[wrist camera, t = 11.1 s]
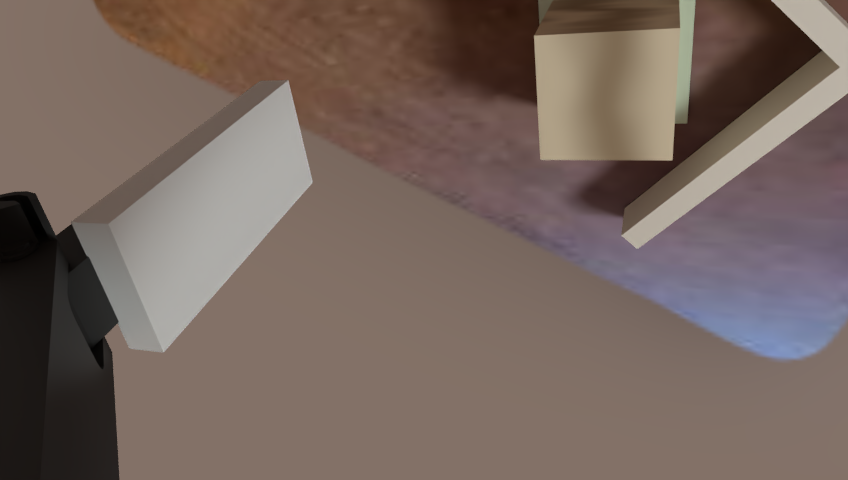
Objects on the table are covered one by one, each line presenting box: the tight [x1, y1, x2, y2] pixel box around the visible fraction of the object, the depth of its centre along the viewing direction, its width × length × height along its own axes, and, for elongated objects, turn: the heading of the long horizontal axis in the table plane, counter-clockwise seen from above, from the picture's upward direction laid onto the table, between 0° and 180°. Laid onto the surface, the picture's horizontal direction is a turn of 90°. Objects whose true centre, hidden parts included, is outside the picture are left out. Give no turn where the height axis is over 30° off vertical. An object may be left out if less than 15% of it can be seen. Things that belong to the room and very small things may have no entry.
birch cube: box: [534, 0, 680, 161], centre depth 44 cm, size 8×8×8 cm
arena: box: [538, 0, 848, 249], centre depth 45 cm, size 18×19×4 cm
